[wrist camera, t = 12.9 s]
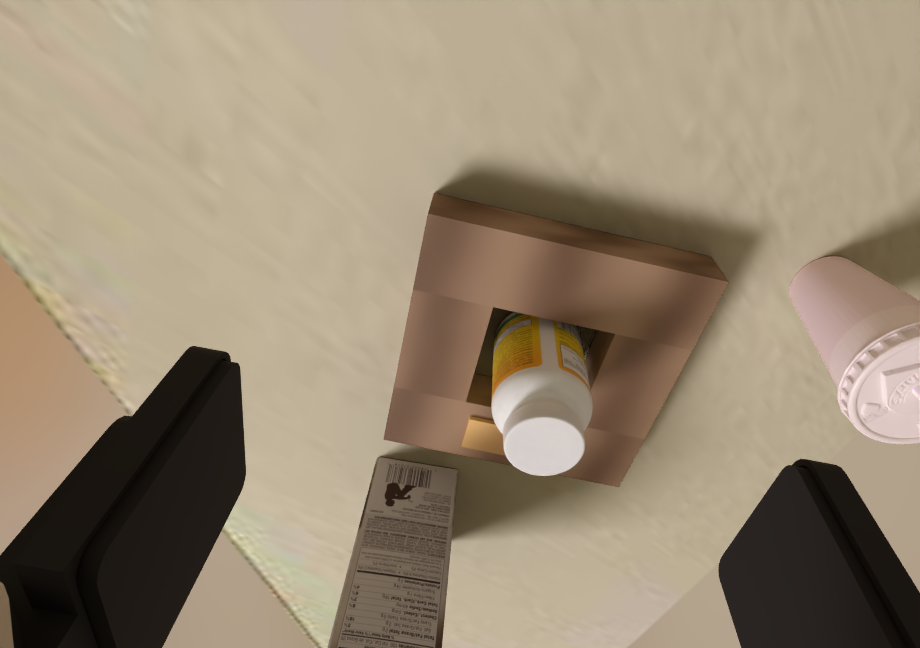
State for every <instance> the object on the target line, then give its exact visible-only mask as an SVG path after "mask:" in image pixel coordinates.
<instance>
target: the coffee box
mask: <svg viewBox="0 0 920 648" xmlns="http://www.w3.org/2000/svg"><path fill="white" fill-rule="evenodd" d="M457 474H458V471H457V470H456V469H451V468H444V467H438V466H432V465H426V464H420V463H413V462H407V461H401V460H395V459H389V458H382V457H379V458H377V460H376V464H375V467H374V471H373V475H372V479H371V483H370V487H369V491H368V495H367V498H366V502H365V506H364V510H363V513H362V517H361V521H360V525H359V529H358V532H357V536H356V540H355V544H354V548H353V551H352V555H351V559H350V563H349V567H348V570H347V574H346V578H345V582H344V586H343V590H342V594H341V597H340V601H339V605H338V609H337V613H336V617H335V621H334V625H333V629H332V633H331V636H330V640H329V644H328V648H442V639H443V628H444V617H445V606H446V595H447V584H448V573H449V562H450V551H451V540H452V531H453V521H454V509H455V498H456V486H457Z"/></svg>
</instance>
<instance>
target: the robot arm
mask: <svg viewBox="0 0 920 648" xmlns="http://www.w3.org/2000/svg"><path fill="white" fill-rule="evenodd" d="M245 476H246V464H245V446H244V428H243V411H242V393H241V375H240V366H239V364H238V363H235V362H231V359H230V356H229V354H228V353H227V352H223V351H218V350H212V349H207V348H202V347H196V346H192V347H189V348H188V349H187V350H186V351H185V352H184V354H183V355H182V356H181V357H180V359H179V360H178V361H177V362H176V363H175V365H174V366H173V367H172V368H171V370H170V371H169V372H168V373H167V374H166V376H165V377H164V378H163V379H162V381H161V382H160V383H159V384H158V385H157V387H156V388H155V389H154V390H153V392H152V393H151V394H150V395H149V396H148V398H147V399H146V400H145V401H144V403H143V404H142V405H141V406H140V407H139V409H138V410H137V411H136V412H135V414H134V415H133V416H123V417H121V418H119V419H117V420H116V421H115V422H114V423H113V424H112V425H111V426H110V427H109V428H108V429H107V430H106V431H105V433H104V434H103V435H102V436H101V437H100V438H99V440H98V441H97V442H96V443H95V444H94V446H93V447H92V448H91V449H90V450H89V451H88V453H87V454H86V455H85V456H84V457H83V458H82V460H81V461H80V462H79V463H78V465H77V466H76V467H75V468H74V469H73V470H72V472H71V473H70V474H69V475H68V476H67V477H66V479H65V480H64V481H63V482H62V483H61V485H60V486H59V487H58V488H57V489H56V490H55V492H54V493H53V494H52V495H51V496H50V497H49V499H48V500H47V501H46V502H45V503H44V504H43V506H42V507H41V508H40V509H39V510H38V512H37V513H36V514H35V515H34V516H33V518H32V519H31V520H30V521H29V522H28V523H27V525H26V526H25V527H24V528H23V529H22V530H21V532H20V533H19V534H18V535H17V536H16V537H15V539H14V540H13V541H12V542H11V543H10V545H9V546H8V547H7V548H6V549H5V551H4V552H3V553H2V554H1V555H0V648H162V647H163V645H164V643H165V641H166V639H167V637H168V635H169V633H170V631H171V629H172V627H173V625H174V623H175V621H176V619H177V617H178V615H179V613H180V611H181V609H182V607H183V605H184V603H185V601H186V599H187V597H188V595H189V593H190V591H191V589H192V588H193V585H194V583H195V581H196V579H197V578H198V576H199V574H200V572H201V570H202V568H203V566H204V564H205V562H206V560H207V558H208V556H209V554H210V552H211V550H212V548H213V546H214V544H215V542H216V540H217V538H218V536H219V534H220V532H221V530H222V528H223V526H224V524H225V522H226V520H227V519H228V517H229V515H230V513H231V511H232V509H233V507H234V505H235V503H236V501H237V499H238V497H239V495H240V493H241V490H242V488H243V485H244V481H245ZM719 578H720V582H721V584H722V588H723V591H724V594H725V598H726V601H727V604H728V607H729V610H730V613H731V616H732V619H733V623H734V626H735V629H736V632H737V635H738V639H739V642H740V645H741V648H920V593H919V591H918V589H917V588H916V586H915V584H914V583H913V581H912V579H911V578H910V576H909V575H908V573H907V572H906V570H905V568H904V567H903V565H902V563H901V562H900V560H899V558H898V557H897V555H896V554H895V552H894V550H893V549H892V547H891V546H890V544H889V542H888V541H887V539H886V538H885V536H884V534H883V533H882V531H881V529H880V528H879V526H878V525H877V523H876V521H875V520H874V518H873V517H872V515H871V513H870V512H869V510H868V508H867V507H866V505H865V504H864V502H863V501H862V499H861V497H860V496H859V494H858V492H857V491H856V489H855V488H854V486H853V484H852V483H851V481H850V479H849V478H848V476H847V474H846V473H845V472H844V471H843V469H842V468H841V467H839V466H837V465H833V464H828V463H822V462H817V461H812V460H806V459H800V460H797V461H796V462H795V463H794V464H793V465H792V466H791V465H788V466H786V467H785V468H784V469H783V470H782V471H781V472H780V474H779V475H778V477H777V478H776V480H775V481H774V482H773V484H772V485H771V487H770V488H769V490H768V491H767V492H766V494H765V495H764V497H763V498H762V500H761V501H760V503H759V504H758V505H757V507H756V508H755V510H754V511H753V513H752V514H751V515H750V517H749V518H748V520H747V521H746V523H745V524H744V525H743V527H742V528H741V530H740V531H739V533H738V534H737V536H736V537H735V538H734V540H733V541H732V543H731V544H730V546H729V547H728V548H727V550H726V551H725V553H724V554H723V556H722V557H721V559H720V563H719Z"/></svg>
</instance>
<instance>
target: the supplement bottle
mask: <svg viewBox="0 0 920 648" xmlns="http://www.w3.org/2000/svg"><path fill="white" fill-rule="evenodd" d="M491 408H492V416H493V419H494V422H495V424H496V426H497V428H498V429H499V431H500V432H501V433H502V434H503V446H504V452H505V455H506V457H507V459H508V460H509V462H510V463H511V464H512V465H513V466H515V467H516V468H517V469H519V470H521V471H523V472H525V473H528V474H531V475H537V476H550V475H556V474H559V473H562V472H565V471H567V470H569V469H571V468H572V467H573V466H575V465H576V464H577V463H578V462H579V460H580V459H581V457H582V456H583V453H584V450H585V439H584V431H585V429H586V428H587V426H588V424H589V422H590V419H591V416H592V410H593V404H592V397H591V391H590V386H589V380H588V375H587V370H586V364H585V359H584V352H583V347H582V342H581V338H580V334H579V330H578V328H577V326H576V325H573V324H568V323H563V322H559V321H554V320H550V319H545V318H541V317H536V316H532V315H527V314H522V313H518V312H513V313H511V314H510V315H508V316H507V317H506V318H505V319H504V320H503V321H502V322H501V324H500V325H499V327H498V329H497V331H496V334H495V338H494V352H493V378H492V403H491Z"/></svg>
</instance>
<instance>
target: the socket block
mask: <svg viewBox="0 0 920 648" xmlns="http://www.w3.org/2000/svg"><path fill="white" fill-rule="evenodd" d="M728 283H729V282H728V280H727V279H726V277H725V276H724V275H723V273H722V272H721V270H720V269H719V267H718V266H717V264H716V263H715V262H714V260H713V259H712V257H709V256H705V255H701V254H696V253H692V252H688V251H683V250H679V249H675V248H670V247H666V246H661V245H657V244H653V243H648V242H644V241H640V240H635V239H631V238H627V237H622V236H618V235H614V234H609V233H605V232H601V231H596V230H592V229H588V228H583V227H579V226H575V225H570V224H566V223H562V222H557V221H553V220H549V219H544V218H540V217H536V216H531V215H527V214H523V213H518V212H514V211H510V210H505V209H501V208H497V207H492V206H488V205H483V204H479V203H475V202H470V201H466V200H462V199H457V198H453V197H449V196H444V195H440V194H436V193H434V195H433V198H432V202H431V205H430V209H429V212H428V216H427V221H426V227H425V232H424V237H423V242H422V247H421V252H420V257H419V262H418V267H417V272H416V277H415V282H414V287H413V293H412V298H411V303H410V308H409V313H408V318H407V323H406V328H405V333H404V338H403V343H402V348H401V353H400V359H399V364H398V369H397V374H396V379H395V384H394V389H393V394H392V399H391V404H390V409H389V414H388V419H387V425H386V430H385V435H384V440H389V441H394V442H398V443H403V444H408V445H413V446H418V447H423V448H428V449H433V450H438V451H443V452H448V453H453V454H458V455H463V456H467V457H472V458H477V459H482V460H487V461H492V462H497V463H502V464H507V465H512V464H511V463H510V462H509V460H508V459H507V457H506V455H505V452H504V446H503V434H502V433H501V432H500V431H499V429H498V428H497V426H496V424H495V422H494V419H493V416H492V408H491V403H492V377H487V376H483V375H478V374H474V372H475V368H476V365H477V362H478V358H479V355H480V351H481V348H482V344H483V341H484V337H485V334H486V330H487V327H488V324H489V320H490V317H491V313H492V310H493V307H495V308H500V309H504V310H509V311H513V312H518V313H522V314H527V315H532V316H536V317H541V318H545V319H550V320H554V321H559V322H563V323H568V324H573V325H577V326H582V327H586V328H591V329H595V330H597V332H596V335H595V337H594V339H593V342H592V344H591V347H590V349H589V351H588V354H587V356H586V359H585V364H586V370H587V375H588V380H589V386H590V391H591V397H592V404H593V410H592V416H591V419H590V422H589V424H588V426H587V428H586V429H585V431H584V439H585V450H584V453H583V456H582V457H581V459H580V460H579V462H578V463H577V464H576V465H575V466H573V467H572V468H571V469H569V470H567V471H565V472H562V473H559V474H556V475H561V476H566V477H571V478H576V479H581V480H586V481H591V482H596V483H601V484H605V485H610V486H615V487H619V486H620V484H621V482H622V481H623V479H624V477H625V475H626V473H627V471H628V469H629V468H630V466H631V464H632V462H633V460H634V458H635V456H636V454H637V453H638V451H639V449H640V447H641V445H642V443H643V441H644V440H645V438H646V436H647V434H648V432H649V430H650V428H651V426H652V425H653V423H654V421H655V419H656V417H657V415H658V413H659V412H660V410H661V408H662V406H663V404H664V402H665V400H666V398H667V397H668V395H669V393H670V391H671V389H672V387H673V385H674V383H675V382H676V380H677V378H678V376H679V374H680V372H681V370H682V369H683V367H684V365H685V363H686V361H687V359H688V357H689V355H690V354H691V352H692V350H693V348H694V346H695V344H696V342H697V341H698V339H699V337H700V335H701V333H702V331H703V329H704V327H705V326H706V324H707V322H708V320H709V318H710V316H711V314H712V313H713V311H714V309H715V307H716V305H717V303H718V301H719V299H720V298H721V296H722V294H723V292H724V290H725V288H726V286H727V285H728ZM512 466H513V465H512Z"/></svg>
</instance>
